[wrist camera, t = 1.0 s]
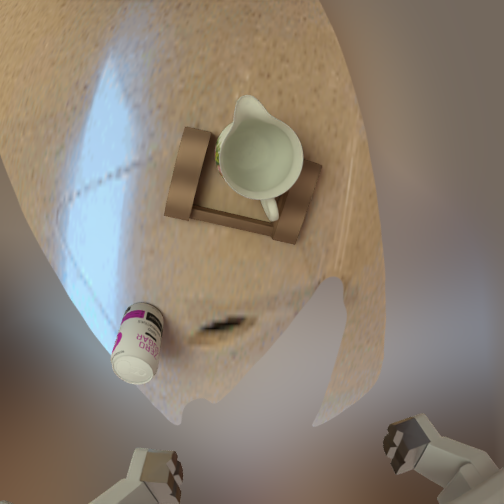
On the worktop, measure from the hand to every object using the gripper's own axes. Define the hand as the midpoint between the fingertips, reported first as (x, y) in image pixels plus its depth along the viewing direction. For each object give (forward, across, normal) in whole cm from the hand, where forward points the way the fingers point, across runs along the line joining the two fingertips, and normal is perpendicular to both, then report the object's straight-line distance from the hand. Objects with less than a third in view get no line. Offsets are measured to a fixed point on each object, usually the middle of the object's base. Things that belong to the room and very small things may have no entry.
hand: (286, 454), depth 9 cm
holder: (+43, 0, -8) cm, 43 cm away
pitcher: (+42, -1, -13) cm, 44 cm away
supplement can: (+45, +22, +16) cm, 53 cm away
